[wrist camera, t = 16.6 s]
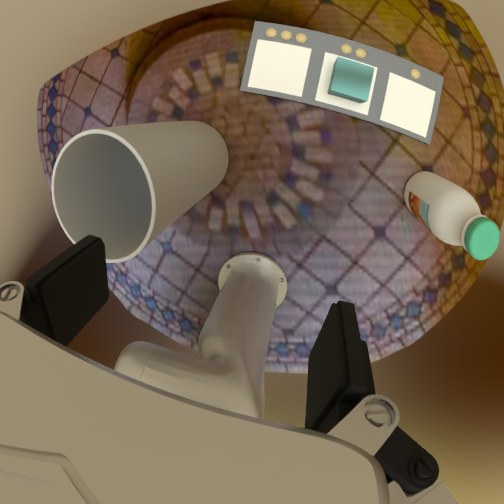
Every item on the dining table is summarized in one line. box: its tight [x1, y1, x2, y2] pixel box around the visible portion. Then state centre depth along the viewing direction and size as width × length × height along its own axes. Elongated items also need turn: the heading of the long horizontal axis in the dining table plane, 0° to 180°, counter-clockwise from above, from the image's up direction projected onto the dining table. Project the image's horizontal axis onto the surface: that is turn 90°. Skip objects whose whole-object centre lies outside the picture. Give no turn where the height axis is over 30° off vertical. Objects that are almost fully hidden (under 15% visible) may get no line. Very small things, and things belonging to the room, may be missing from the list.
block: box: [327, 57, 374, 103], centre depth 33 cm, size 5×5×5 cm
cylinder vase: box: [52, 121, 229, 263], centre depth 34 cm, size 12×12×25 cm
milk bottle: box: [404, 171, 500, 260], centre depth 32 cm, size 8×8×20 cm
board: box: [240, 21, 444, 145], centre depth 35 cm, size 12×30×2 cm, turn 79°
